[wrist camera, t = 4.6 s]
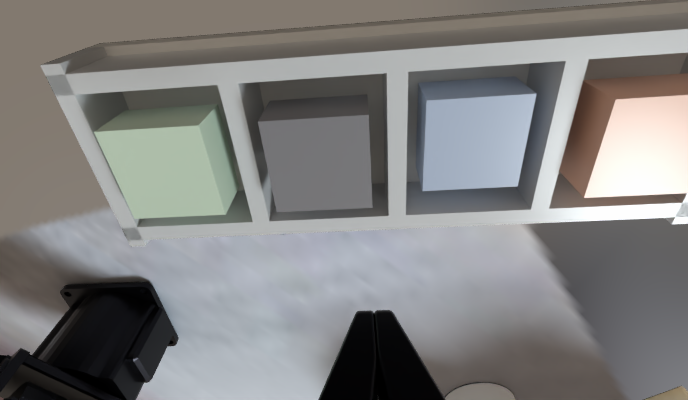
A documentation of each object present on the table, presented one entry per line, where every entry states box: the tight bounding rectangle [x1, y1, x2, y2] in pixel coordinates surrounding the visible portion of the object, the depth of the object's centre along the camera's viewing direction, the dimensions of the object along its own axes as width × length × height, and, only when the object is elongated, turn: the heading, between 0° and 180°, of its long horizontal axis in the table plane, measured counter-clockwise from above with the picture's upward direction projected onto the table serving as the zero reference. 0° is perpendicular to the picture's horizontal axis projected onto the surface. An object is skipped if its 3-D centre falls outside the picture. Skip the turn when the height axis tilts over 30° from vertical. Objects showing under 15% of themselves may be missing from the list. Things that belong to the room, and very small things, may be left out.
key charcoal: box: [258, 94, 373, 212], centre depth 16 cm, size 4×4×2 cm
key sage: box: [94, 104, 240, 219], centre depth 17 cm, size 4×4×2 cm
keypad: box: [40, 0, 688, 247], centre depth 18 cm, size 27×9×4 cm, turn 94°
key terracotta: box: [559, 73, 688, 198], centre depth 16 cm, size 4×4×2 cm
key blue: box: [416, 76, 537, 191], centre depth 17 cm, size 4×4×2 cm
